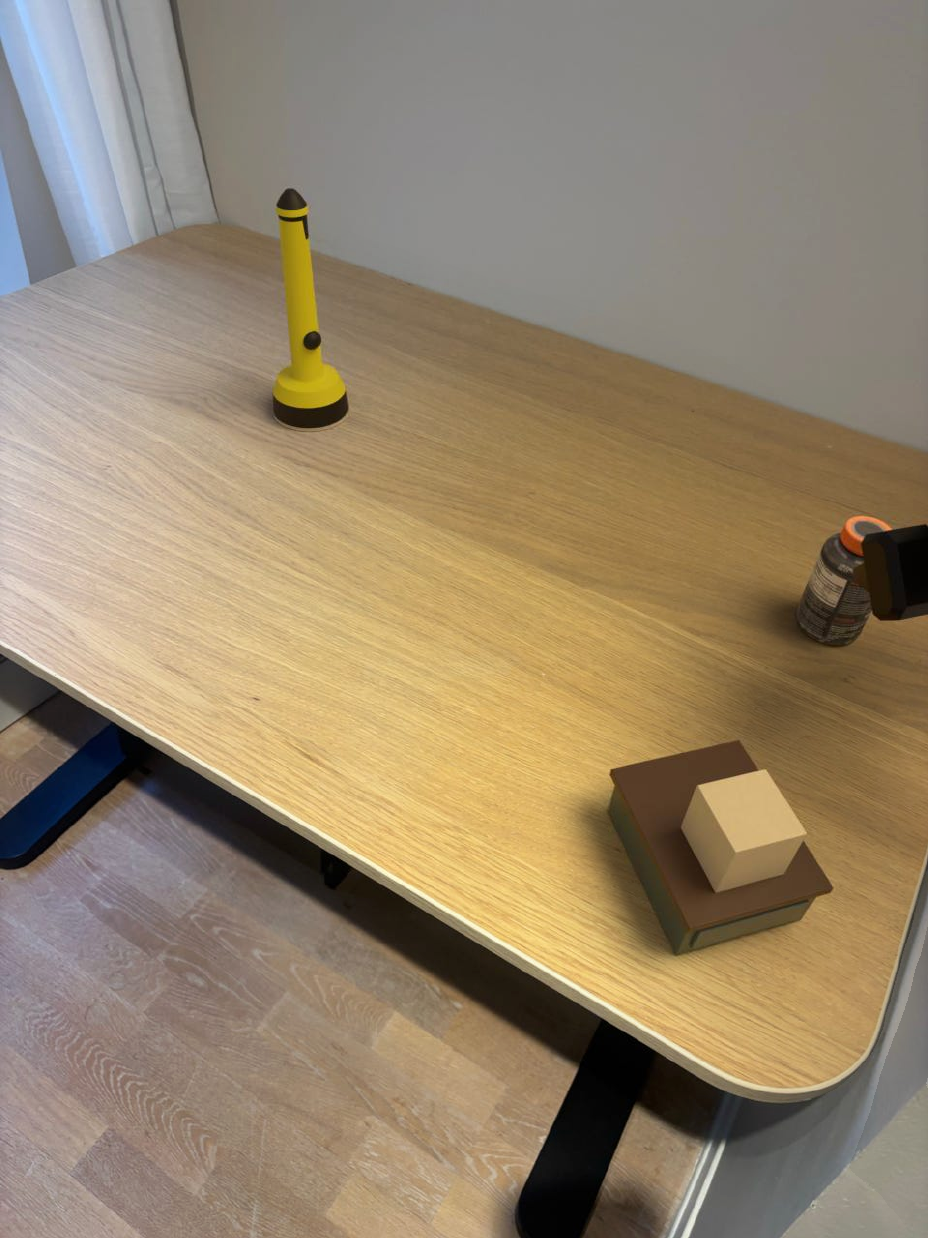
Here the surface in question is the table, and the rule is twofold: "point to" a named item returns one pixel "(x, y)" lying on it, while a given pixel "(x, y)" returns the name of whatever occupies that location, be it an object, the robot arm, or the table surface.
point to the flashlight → (303, 334)
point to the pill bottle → (838, 586)
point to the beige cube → (742, 830)
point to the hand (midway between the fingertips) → (903, 565)
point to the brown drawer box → (670, 869)
